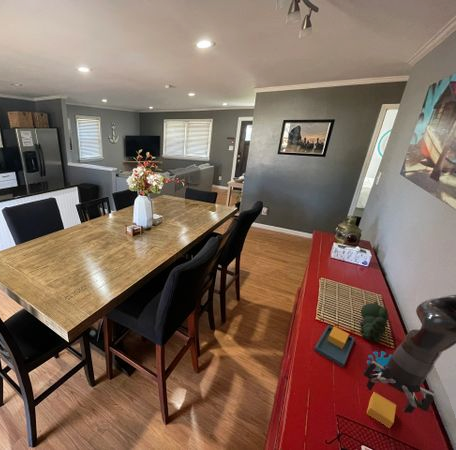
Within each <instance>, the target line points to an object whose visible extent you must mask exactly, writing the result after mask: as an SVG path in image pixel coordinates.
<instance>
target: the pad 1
mask: <svg viewBox="0 0 456 450" xmlns="http://www.w3.org/2000/svg"><path fill="white" fill-rule="evenodd" d="M332 327H333V329H332V331H331V333H330V335H329V337H328V340H327V341H329V342H330V343H332V344H334V345H336V346H338V347H340V348H341V349H343V347H344V345H345V343H346V340H347V338H348V336H350V333H348V332H346V331H344V330H342V329H340V328H339V327H337V326H332Z"/></svg>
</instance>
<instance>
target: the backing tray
mask: <svg viewBox="0 0 456 450" xmlns="http://www.w3.org/2000/svg"><path fill="white" fill-rule="evenodd" d="M333 327H334V326H331V325H330V324H327V326H326V327H325V328H324V331H323V333H322V334H321V336H320V338H318V339H319V340H318V341H317V343H316V345H315V347H314V349H313V351H315V352H316V353H318V354H319V355H321V356H323V357H325V358H326V359H328V360H330V361H331V362H332V363H334V364H337V365H338V366H340V367H342V368H344V367H345V365H346V362H347V360H348V357H349V354H350V352H351V350H352V348H353V345H354V342H355V340H356V338H355V337H353V336H351V335H349V336H348V338H347V340H346V343H345V345H344V347H343V349H341V348H340V347H338V346H336V345H334V344H332V343H330V342H329V341H327V340H328V337H329V335H330V333H331V331H332V329H333Z"/></svg>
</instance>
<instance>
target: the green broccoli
mask: <svg viewBox="0 0 456 450" xmlns="http://www.w3.org/2000/svg"><path fill="white" fill-rule="evenodd" d="M360 315H361V317H362V318H363V319H362V321H360V322H359V325H360V327H361V328H360V329H359V332H360V335H361V338H362V339H370V340H372V342H373V343H374V344H379V343H380V341H381V340H380V339H381V338H382V337H384V332H386V331H387V329H386V327H388V321H389V312H388V309H387V308H386V307H384V306H382V305H380V304H379V303H378V301H374V302H373V303H366V304H364V305H363V306H362V307H361V309H360ZM362 333H363V334H362Z"/></svg>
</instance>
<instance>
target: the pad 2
mask: <svg viewBox="0 0 456 450" xmlns="http://www.w3.org/2000/svg"><path fill="white" fill-rule="evenodd" d="M396 410H397V404H396V403H394V402H392V401H391V400H389V399H387V398H385V397H384V396H382V395H381V394H379V393H377V392H376V391H373V393H372V395H371V396H370V398H369V401H368V407H367V410H366V415H367V416H369V417H370V416H371V417H370V418H372V419H373V418H374V419H373V420H375V419H376V420H377V421H376V420H375V421H376V422H378V421H379V422H381V423H382V424H384V425H385V426H386V427H385V426H384V425H383V426H384V427H385V428H387V427H388V428H389V430H390V429H391V428H392V426H393V425H394V423H395V417H396ZM379 422H378V423H379ZM381 423H380V424H381ZM382 424H381V425H382ZM388 428H387V429H388Z"/></svg>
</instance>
